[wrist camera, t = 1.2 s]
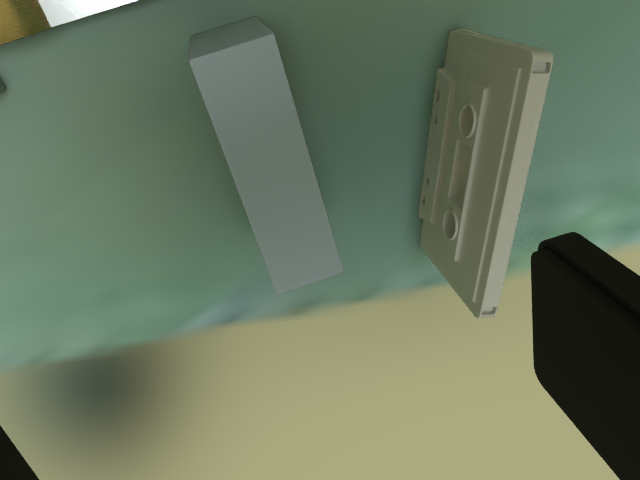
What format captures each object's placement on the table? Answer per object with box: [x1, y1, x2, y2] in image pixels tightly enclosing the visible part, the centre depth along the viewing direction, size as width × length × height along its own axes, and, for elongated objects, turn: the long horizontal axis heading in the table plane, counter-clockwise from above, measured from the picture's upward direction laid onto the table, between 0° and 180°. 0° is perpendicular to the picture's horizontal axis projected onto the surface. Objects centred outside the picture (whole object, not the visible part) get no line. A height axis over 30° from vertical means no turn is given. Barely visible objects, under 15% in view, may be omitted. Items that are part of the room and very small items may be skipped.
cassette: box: [418, 29, 554, 318], centre depth 26 cm, size 12×2×8 cm, turn 178°
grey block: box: [189, 16, 344, 295], centre depth 24 cm, size 3×10×7 cm, turn 15°
